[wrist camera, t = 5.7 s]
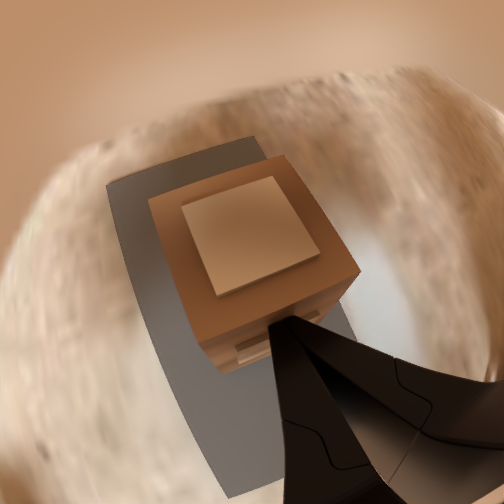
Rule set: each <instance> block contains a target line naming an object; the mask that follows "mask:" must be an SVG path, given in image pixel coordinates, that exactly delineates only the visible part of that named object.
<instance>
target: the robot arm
mask: <svg viewBox="0 0 504 504" xmlns="http://www.w3.org/2000/svg"><path fill="white" fill-rule="evenodd" d="M268 335H269V342H270V349H271V356H272V362H273V369H274V376H275V383H276V390H277V397H278V404H279V411H280V418H281V426H282V433H283V443H284V495H283V504H504V381H499V382H479V381H474V380H470V379H465V378H461V377H457V376H453V375H449V374H445V373H441V372H437V371H433V370H430V369H427V368H423V367H420V366H417V365H415V364H412V363H409V362H406V361H404V360H401V359H399V358H394V357H393V356H391V355H388V354H386V353H383V352H381V351H378V350H376V349H373V348H371V347H369V346H366V345H364V344H361V343H359V342H356V341H354V340H352V339H349V338H347V337H345V336H342V335H340V334H337V333H335V332H333V331H330V330H328V329H326V328H323V327H321V326H319V325H316V324H314V323H312V322H310V321H307V320H305V319H303V318H300V317H298V316H296V315H291V316H289V317H287V318H285V319H283V320H282V321H281V322H280V321H278V322H276V323H274V324H271V325H269V326H268ZM371 464H372V465H371ZM373 466H374V467H373ZM375 469H376V470H377V471H378V473H379V474H380V475H381V476H382V477H383V479H384V480H385V481H386V482H387V483H388V485H389V486H390V487H391V488H392V489H391V488H390V487H389V486H388V485H387V484H386V483H385V482H384V481H383V480H382V478H381V477H380V476H379V474H378V473H377V471H376V470H375Z"/></svg>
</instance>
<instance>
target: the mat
mask: <svg viewBox="0 0 504 504" xmlns="http://www.w3.org/2000/svg"><path fill="white" fill-rule="evenodd" d="M264 160H267V159H266V157H265V155H264V154H263V152H262V150H261V148H260V146H259V145H258V143H257V141H256V139H255V138H254V136H251V137H247V138H243V139H240V140H236V141H233V142H229V143H226V144H222V145H219V146H216V147H212V148H209V149H206V150H203V151H199V152H196V153H193V154H190V155H187V156H184V157H181V158H178V159H175V160H172V161H169V162H167V163H164V164H161V165H158V166H155V167H153V168H150V169H147V170H144V171H142V172H139V173H136V174H134V175H131V176H129V177H126V178H124V179H121V180H119V181H116V182H114V183H111V184H109V185H106V189H107V193H108V198H109V202H110V206H111V211H112V215H113V219H114V223H115V227H116V231H117V234H118V238H119V242H120V245H121V249H122V253H123V256H124V260H125V263H126V266H127V270H128V273H129V276H130V279H131V283H132V286H133V289H134V292H135V295H136V298H137V301H138V304H139V307H140V310H141V313H142V316H143V318H144V321H145V324H146V327H147V329H148V332H149V335H150V338H151V340H152V343H153V345H154V348H155V351H156V353H157V356H158V358H159V361H160V363H161V366H162V368H163V370H164V373H165V375H166V378H167V380H168V382H169V385H170V387H171V389H172V391H173V394H174V396H175V398H176V400H177V403H178V405H179V407H180V409H181V411H182V413H183V415H184V418H185V420H186V422H187V424H188V426H189V428H190V430H191V432H192V434H193V436H194V438H195V440H196V442H197V444H198V446H199V448H200V450H201V451H202V453H203V455H204V457H205V459H206V461H207V463H208V464H209V466H210V468H211V470H212V472H213V473H214V475H215V477H216V479H217V481H218V482H219V484H220V486H221V487H222V489H223V491H224V492H225V494H226V496H227V497H228V499H229V498H232V497H235V496H238V495H241V494H243V493H246V492H249V491H252V490H254V489H257V488H260V487H262V486H265V485H267V484H270V483H272V482H275V481H277V480H279V479H282V478H284V443H283V433H282V426H281V418H280V411H279V404H278V397H277V390H276V383H275V376H274V369H273V362H272V356H271V355H269V356H267V357H264V358H262V359H260V360H258V361H255V362H253V363H251V364H248V365H246V366H244V367H241V368H239V369H236V370H234V371H231V372H229V373H226V374H224V375H222V374H221V373H220V371H219V370H218V369H217V368H216V366H215V365H214V364H213V363H212V361H211V360H210V359H209V357H208V356H207V355H206V354H205V352H204V351H203V350H202V348H201V347H200V346H199V344H198V343H197V341H196V338H195V335H194V333H193V330H192V328H191V325H190V323H189V320H188V318H187V315H186V312H185V310H184V307H183V304H182V302H181V299H180V296H179V293H178V291H177V288H176V285H175V282H174V280H173V277H172V274H171V271H170V268H169V265H168V262H167V259H166V256H165V253H164V250H163V247H162V244H161V241H160V238H159V235H158V232H157V229H156V226H155V222H154V219H153V216H152V213H151V209H150V206H149V203H148V199H151V198H153V197H156V196H159V195H161V194H164V193H167V192H169V191H172V190H175V189H178V188H181V187H183V186H186V185H189V184H192V183H195V182H198V181H201V180H204V179H207V178H210V177H213V176H216V175H219V174H222V173H225V172H228V171H231V170H234V169H238V168H241V167H244V166H247V165H251V164H254V163H257V162H261V161H264ZM318 325H319V326H321V327H323V328H326V329H328V330H330V331H333V332H335V333H337V334H340V335H342V336H345V337H347V338H349V339H352V340H354V341H356V342H357V340H356V337H355V335H354V333H353V331H352V329H351V326H350V324H349V322H348V320H347V318H346V315H345V313H344V311H343V309H342V307H341V304H340V302H339V300H338V301H337V303H336V304H335V305H334V306H333V308H332V309H331V310H330V311H329V312H328V314H327V315H326V316H325V317H324V318H323V320H322V321H321V322H320V323H319V324H318Z"/></svg>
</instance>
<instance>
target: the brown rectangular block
mask: <svg viewBox="0 0 504 504" xmlns="http://www.w3.org/2000/svg"><path fill="white" fill-rule="evenodd" d="M148 203H149V206H150V209H151V213H152V216H153V219H154V222H155V226H156V229H157V232H158V235H159V238H160V241H161V244H162V247H163V250H164V253H165V256H166V259H167V262H168V265H169V268H170V271H171V274H172V277H173V280H174V282H175V285H176V288H177V291H178V293H179V296H180V299H181V302H182V304H183V307H184V310H185V312H186V315H187V318H188V320H189V323H190V325H191V328H192V330H193V333H194V335H195V338H196V341H197V343H198V344H199V346H200V347H201V348H202V350H203V351H204V352H205V354H206V355H207V356H208V357H209V359H210V360H211V361H212V363H213V364H214V365H215V366H216V368H217V369H218V370H219V371H220V373H221V374H222V375H224V374H226V373H229V372H231V371H234V370H236V369H239V368H241V367H244V366H246V365H248V364H251V363H253V362H255V361H258V360H260V359H262V358H264V357H267V356H269V355H271V349H270V342H269V335H268V326H269V325H271V324H274V323H276V322H278V321H280V322H281V321H282V320H283V319H285V318H287V317H289V316H291V315H296V316H298V317H300V318H303V319H305V320H307V321H310V322H312V323H314V324H316V325H318V324H319V323H320V322H321V321H322V320H323V318H324V317H325V316H326V315H327V314H328V312H329V311H330V310H331V309H332V308H333V306H334V305H335V304H336V303H337V301H338V300H339V299H340V298H341V296H342V295H343V294H344V293H345V292H346V290H347V289H348V288H349V286H350V285H351V284H352V283H353V281H354V280H355V279H356V278H357V276H358V275H359V274H360V272H361V270H360V269H359V267H358V265H357V264H356V262H355V260H354V259H353V257H352V255H351V254H350V252H349V251H348V249H347V248H346V246H345V244H344V243H343V241H342V240H341V238H340V236H339V235H338V233H337V232H336V230H335V229H334V227H333V226H332V224H331V223H330V221H329V220H328V218H327V217H326V215H325V214H324V212H323V211H322V209H321V208H320V206H319V205H318V203H317V202H316V200H315V199H314V197H313V196H312V194H311V193H310V191H309V190H308V188H307V187H306V186H305V184H304V183H303V181H302V180H301V178H300V177H299V176H298V174H297V173H296V171H295V170H294V169H293V167H292V166H291V164H290V163H289V162H288V160H287V159H286V158H285V156H284V155H281V156H278V157H274V158H271V159H267V160H264V161H261V162H257V163H254V164H251V165H247V166H244V167H241V168H238V169H234V170H231V171H228V172H225V173H222V174H219V175H216V176H213V177H210V178H207V179H204V180H201V181H198V182H195V183H192V184H189V185H186V186H183V187H181V188H178V189H175V190H172V191H169V192H167V193H164V194H161V195H159V196H156V197H153V198H151V199H148Z"/></svg>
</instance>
